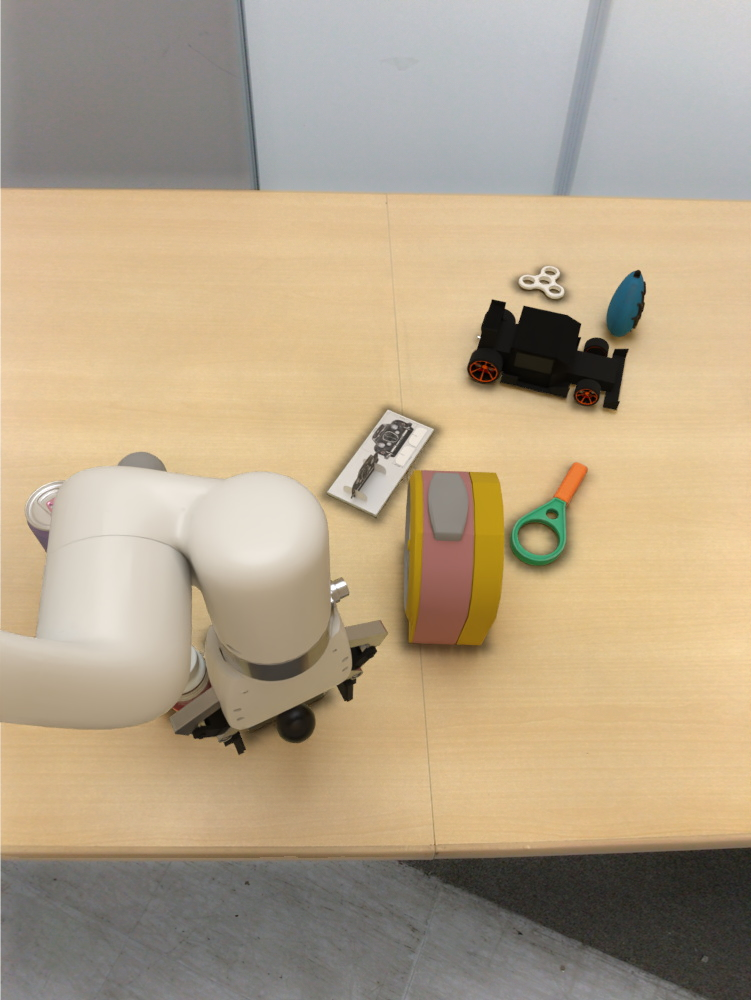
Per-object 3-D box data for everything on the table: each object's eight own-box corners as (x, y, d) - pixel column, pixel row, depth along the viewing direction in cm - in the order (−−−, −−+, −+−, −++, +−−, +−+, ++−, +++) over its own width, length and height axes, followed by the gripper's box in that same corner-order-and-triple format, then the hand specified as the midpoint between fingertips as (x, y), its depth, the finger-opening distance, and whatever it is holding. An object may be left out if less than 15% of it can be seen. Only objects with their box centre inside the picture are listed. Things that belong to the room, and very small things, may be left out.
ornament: (630, 352, 102) (653, 294, 94) (596, 343, 103) (616, 285, 95) (639, 314, 107) (661, 256, 99) (607, 306, 108) (627, 248, 100)
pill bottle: (162, 680, 74) (141, 646, 67) (208, 662, 76) (192, 627, 69) (174, 723, 72) (154, 692, 65) (221, 704, 73) (207, 672, 66)
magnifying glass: (548, 575, 82) (552, 568, 81) (499, 550, 84) (502, 542, 82) (601, 483, 89) (605, 474, 88) (555, 461, 91) (558, 452, 90)
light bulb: (141, 492, 88) (118, 438, 79) (186, 498, 87) (167, 444, 79) (126, 531, 84) (100, 479, 76) (172, 537, 84) (152, 485, 76)
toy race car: (614, 414, 96) (631, 374, 90) (464, 379, 99) (470, 338, 93) (624, 360, 101) (640, 319, 95) (481, 328, 105) (488, 286, 99)
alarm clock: (403, 535, 85) (411, 431, 70) (474, 538, 85) (499, 434, 70) (401, 658, 76) (411, 570, 61) (481, 661, 76) (511, 573, 61)
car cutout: (376, 517, 86) (376, 494, 82) (327, 494, 88) (325, 471, 84) (433, 431, 94) (436, 407, 90) (387, 411, 95) (388, 387, 92)
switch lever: (317, 727, 69) (325, 736, 65) (282, 745, 68) (288, 754, 64) (263, 596, 69) (267, 598, 65) (226, 612, 68) (229, 614, 64)
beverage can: (91, 617, 78) (40, 543, 66) (64, 579, 81) (10, 501, 68) (140, 584, 80) (100, 506, 68) (112, 549, 83) (69, 467, 71)
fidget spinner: (551, 267, 112) (552, 262, 112) (578, 291, 109) (579, 286, 109) (514, 282, 110) (515, 277, 110) (541, 307, 107) (542, 302, 107)
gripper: (365, 528, 53) (361, 631, 67) (126, 628, 48) (175, 717, 62) (417, 614, 49) (401, 704, 63) (163, 732, 44) (207, 802, 58)
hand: (289, 710), depth 62 cm, fingers open, 9 cm apart
